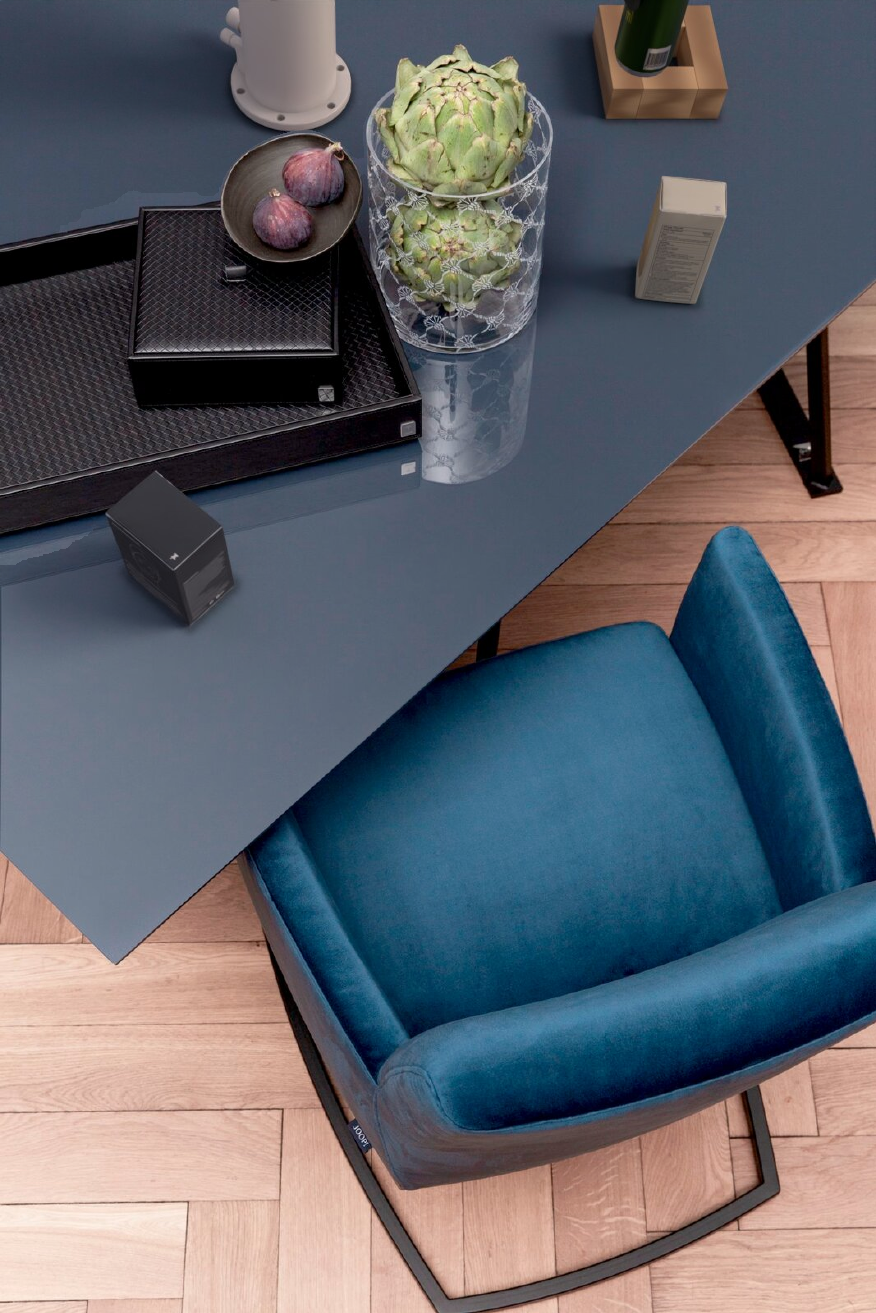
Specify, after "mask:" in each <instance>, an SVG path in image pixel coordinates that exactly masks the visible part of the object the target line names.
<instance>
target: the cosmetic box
mask: <svg viewBox="0 0 876 1313" xmlns="http://www.w3.org/2000/svg"><path fill="white" fill-rule="evenodd" d="M727 205H728V191H727V182H724V181H718V180H711V179H710V180H709V179H702V178H690V177H681V176H666V175H662V176H661V178H660V182H659V186H658V189H657V194H656V197H655V201H654V204H653V207H652V211H651V214H650V218H649V222H648V225H647V229H646V232H645V236H644V240H643V243H642V247H641V251H640V254H639V256H638V257H639V258H638V261H637V265H636V274H635V275H636V277H635V290H634V291H635V292H634V293H635V294H634V296H635V298H636V299H639V300H640V299H641V300H649V301H657V302H667V303H678V304H689V305H695V304H696V303H697V300H698V298H699V295H700V292H701V290H702V286H703V284H704V282H705V277H706V275H707V272H708V270H709V267H710V264H711V261H712V259H713V255H714V253H715V249H716V247H717V244H718V241H719V238H720V235H721V233H722V230H723V228H724V223H725V222H726V219H727V208H728V206H727Z"/></svg>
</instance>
